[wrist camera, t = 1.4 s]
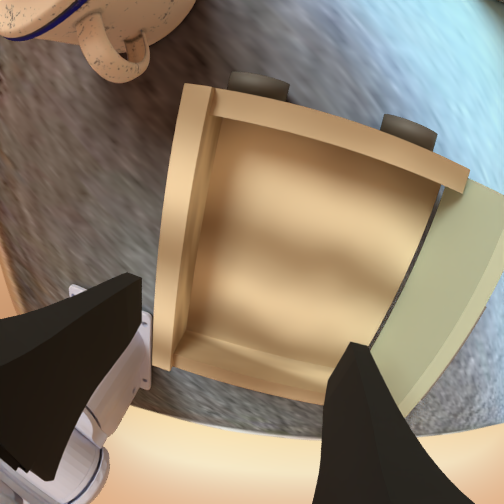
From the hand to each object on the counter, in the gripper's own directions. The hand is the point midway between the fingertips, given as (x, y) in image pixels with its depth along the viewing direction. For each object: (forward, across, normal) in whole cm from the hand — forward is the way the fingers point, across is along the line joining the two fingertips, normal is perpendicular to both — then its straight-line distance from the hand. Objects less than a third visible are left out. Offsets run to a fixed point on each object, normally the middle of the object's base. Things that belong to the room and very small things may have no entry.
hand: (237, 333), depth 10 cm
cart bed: (+10, -1, +1) cm, 10 cm away
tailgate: (+8, -9, +1) cm, 12 cm away
